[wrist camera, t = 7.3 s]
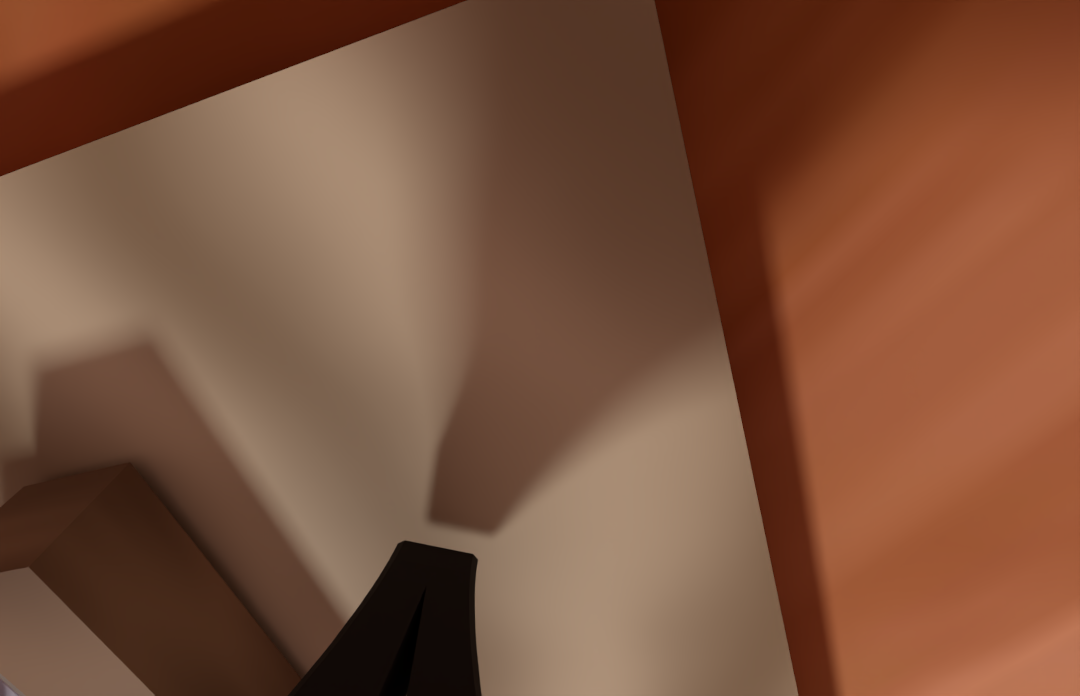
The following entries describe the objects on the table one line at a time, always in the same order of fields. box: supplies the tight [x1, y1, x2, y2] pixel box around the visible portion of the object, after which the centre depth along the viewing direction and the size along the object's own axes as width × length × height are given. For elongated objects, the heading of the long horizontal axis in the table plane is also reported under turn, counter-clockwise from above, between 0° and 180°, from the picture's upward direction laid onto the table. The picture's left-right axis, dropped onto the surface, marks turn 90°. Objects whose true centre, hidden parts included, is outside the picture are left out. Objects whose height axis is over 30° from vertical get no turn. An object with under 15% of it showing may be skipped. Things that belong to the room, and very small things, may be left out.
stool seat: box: [0, 0, 798, 696], centre depth 13 cm, size 15×20×4 cm
